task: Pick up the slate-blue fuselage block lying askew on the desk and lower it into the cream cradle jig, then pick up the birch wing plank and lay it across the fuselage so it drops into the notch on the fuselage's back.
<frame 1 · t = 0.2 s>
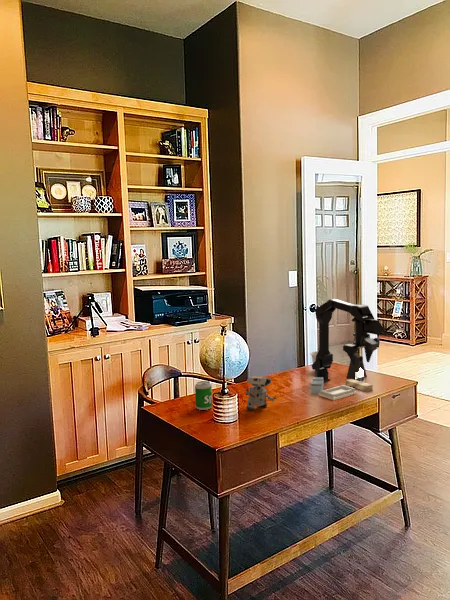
hand: (361, 363, 235), 14 cm above the table, tool pointing down, fingers open, 9 cm apart
teacup: (323, 371, 277), on the table
jig: (337, 394, 236), on the table
fuselage: (317, 390, 245), on the table
phone stand: (356, 377, 263), on the table
wing: (358, 388, 246), on the table
soda can: (204, 409, 224), on the table
figurine: (260, 409, 220), on the table
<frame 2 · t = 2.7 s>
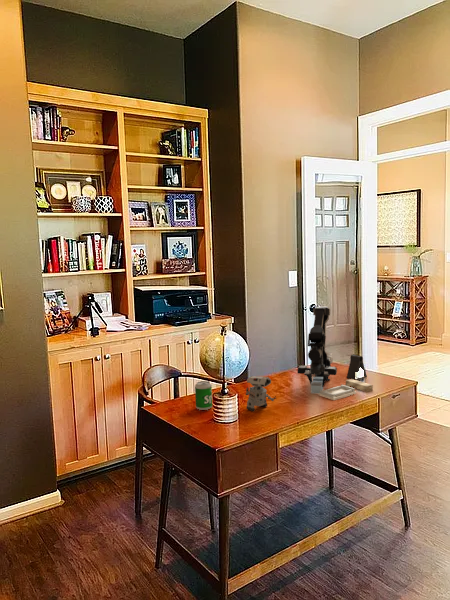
hand: (317, 387, 244), 1 cm above the table, tool pointing down, fingers closed on fuselage, 5 cm apart
fuselage: (317, 390, 245), on the table, touching gripper
everything else where it was.
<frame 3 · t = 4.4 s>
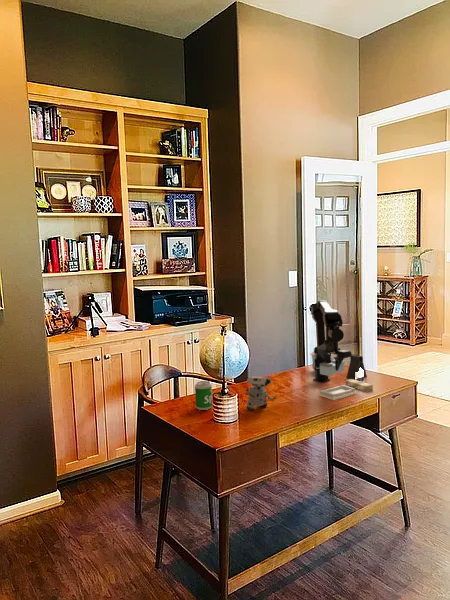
hand: (332, 369, 236), 12 cm above the table, tool pointing down, fingers closed on fuselage, 5 cm apart
fuselage: (332, 372, 236), point 11 cm above the table, touching gripper
everything else where it was.
when the fingers open (4 cm above the table, at t = 6.3 s): fuselage drops 2 cm, resting on jig.
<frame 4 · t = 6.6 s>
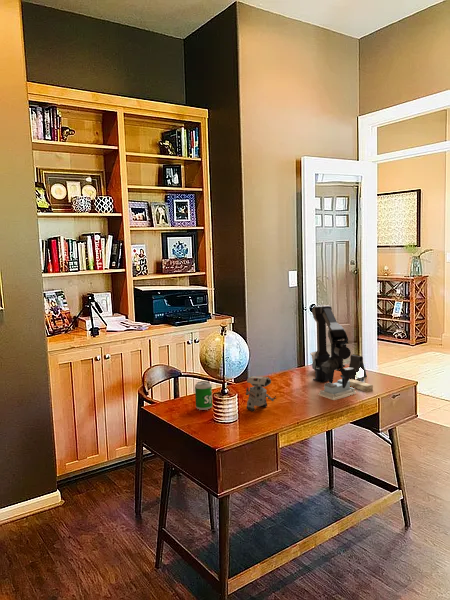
hand: (337, 386, 236), 4 cm above the table, tool pointing down, fingers open, 8 cm apart
fuselage: (337, 392, 236), point 1 cm above the table, touching jig
everything else where it was.
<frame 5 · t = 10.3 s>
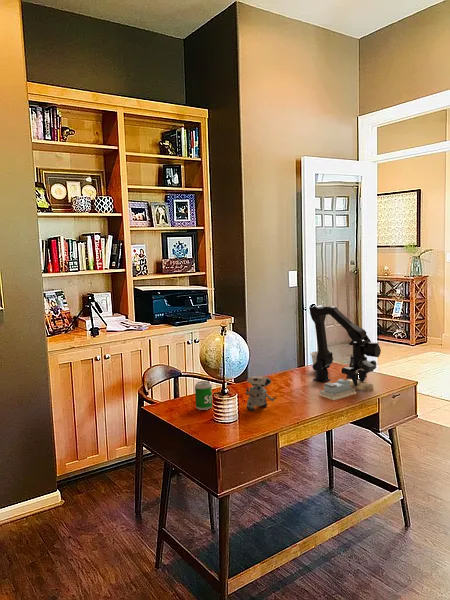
hand: (358, 385, 245), 1 cm above the table, tool pointing down, fingers closed on wing, 4 cm apart
wing: (359, 387, 245), on the table, touching gripper
everything else where it was.
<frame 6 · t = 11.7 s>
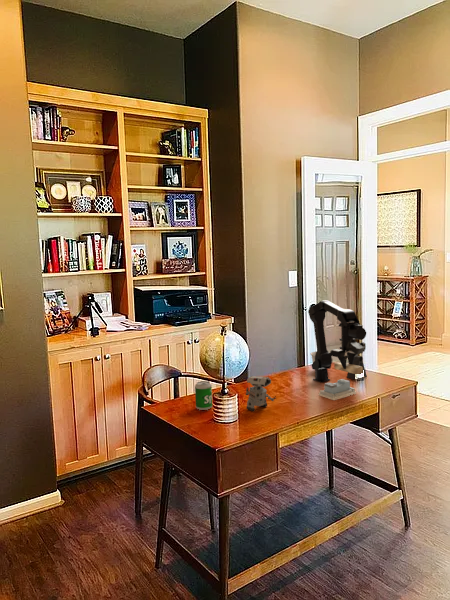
hand: (347, 368, 239), 12 cm above the table, tool pointing down, fingers closed on wing, 4 cm apart
wing: (348, 370, 239), point 10 cm above the table, touching gripper
everything else where it was.
when the fingers open (7 cm above the table, at t = 13.1 s): wing drops 1 cm, resting on fuselage.
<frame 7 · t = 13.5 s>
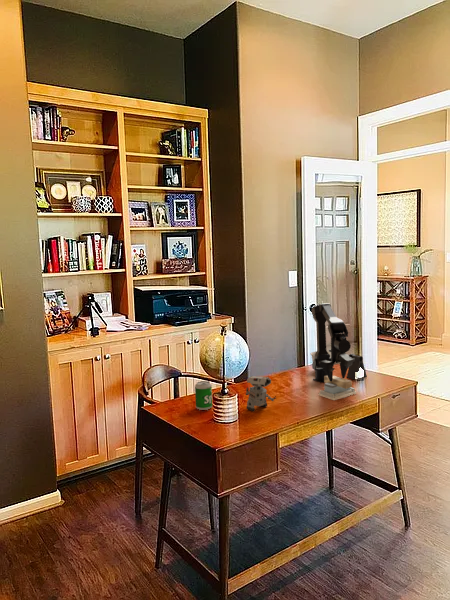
hand: (337, 379, 235), 7 cm above the table, tool pointing down, fingers open, 8 cm apart
fuselage: (337, 392, 236), point 1 cm above the table, touching jig, wing
wing: (337, 384, 235), point 5 cm above the table, touching fuselage
everything else where it was.
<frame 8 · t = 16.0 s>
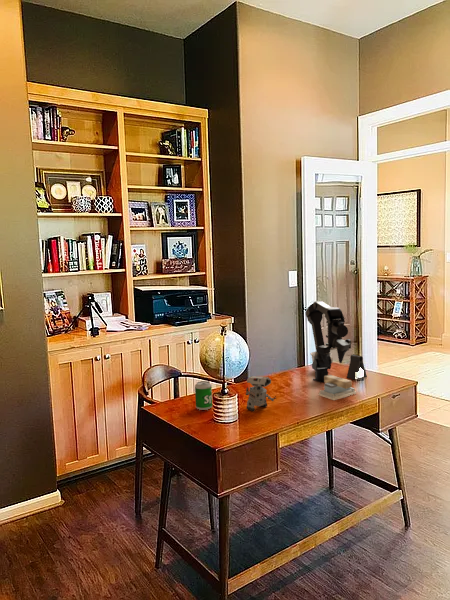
hand: (333, 364, 243), 12 cm above the table, tool pointing down, fingers open, 9 cm apart
nothing on the table moved.
at the end: fuselage 0.1 cm off-centre on the jig, point 1.0 cm above the jig's base; wing 0.3 cm off-centre on the fuselage, point 4.0 cm above the fuselage's base; wing tilted 0° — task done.
